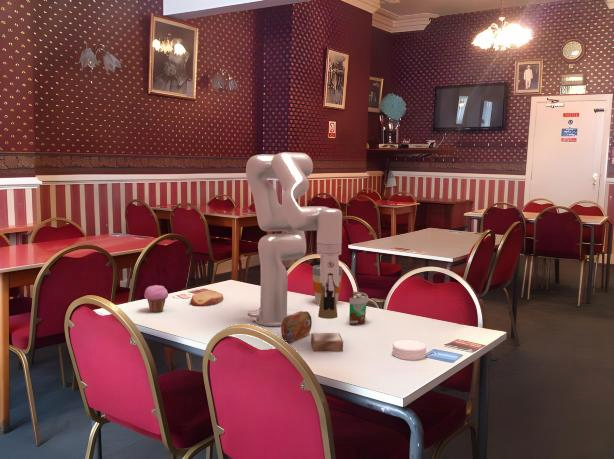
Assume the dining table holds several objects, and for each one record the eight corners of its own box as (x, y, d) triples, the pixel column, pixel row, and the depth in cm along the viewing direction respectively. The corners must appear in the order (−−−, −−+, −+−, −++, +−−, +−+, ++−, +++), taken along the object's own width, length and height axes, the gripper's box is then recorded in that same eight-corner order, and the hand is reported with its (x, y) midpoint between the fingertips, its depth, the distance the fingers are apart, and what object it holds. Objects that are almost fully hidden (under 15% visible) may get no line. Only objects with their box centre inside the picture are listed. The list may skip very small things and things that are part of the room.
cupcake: (168, 313, 220) (168, 287, 219) (144, 314, 218) (143, 287, 217) (168, 307, 228) (167, 282, 227) (144, 308, 226) (144, 283, 225)
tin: (287, 345, 184) (287, 318, 183) (278, 343, 186) (279, 317, 185) (312, 334, 197) (312, 309, 196) (304, 332, 198) (304, 308, 198)
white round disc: (389, 350, 182) (389, 339, 181) (420, 350, 182) (421, 339, 182) (396, 361, 172) (396, 349, 171) (429, 361, 172) (430, 349, 172)
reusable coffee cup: (306, 301, 245) (306, 265, 243) (332, 298, 250) (333, 263, 248) (319, 307, 233) (320, 270, 232) (347, 305, 239) (348, 268, 237)
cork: (319, 318, 179) (319, 283, 177) (317, 314, 185) (317, 279, 183) (338, 318, 179) (339, 283, 178) (336, 313, 185) (337, 279, 184)
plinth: (313, 351, 178) (313, 340, 178) (311, 342, 187) (311, 332, 187) (343, 351, 179) (343, 340, 179) (339, 342, 188) (339, 332, 187)
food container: (366, 327, 206) (367, 299, 205) (348, 326, 207) (349, 298, 206) (369, 318, 218) (370, 292, 217) (353, 317, 219) (353, 291, 218)
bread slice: (214, 294, 255) (213, 286, 255) (236, 302, 241) (236, 293, 241) (176, 300, 244) (176, 291, 243) (197, 308, 230) (197, 299, 229)
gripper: (345, 253, 172) (343, 314, 174) (337, 245, 188) (336, 302, 190) (319, 252, 171) (318, 314, 173) (314, 245, 188) (313, 302, 190)
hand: (327, 307), depth 182 cm, fingers closed on cork, 4 cm apart
